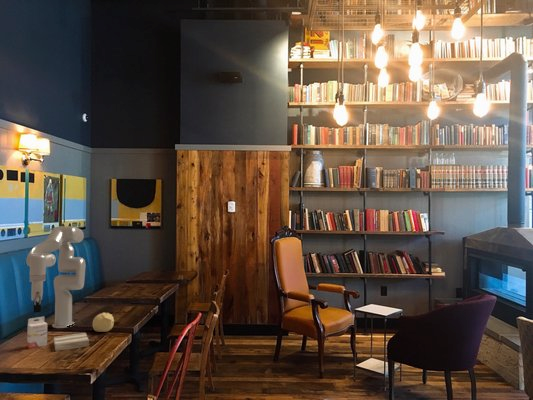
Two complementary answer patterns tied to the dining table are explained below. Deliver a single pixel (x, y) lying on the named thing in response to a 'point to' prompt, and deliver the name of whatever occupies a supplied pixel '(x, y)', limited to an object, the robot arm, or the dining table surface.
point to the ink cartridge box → (36, 332)
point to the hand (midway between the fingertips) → (37, 310)
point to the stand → (71, 341)
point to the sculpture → (103, 322)
